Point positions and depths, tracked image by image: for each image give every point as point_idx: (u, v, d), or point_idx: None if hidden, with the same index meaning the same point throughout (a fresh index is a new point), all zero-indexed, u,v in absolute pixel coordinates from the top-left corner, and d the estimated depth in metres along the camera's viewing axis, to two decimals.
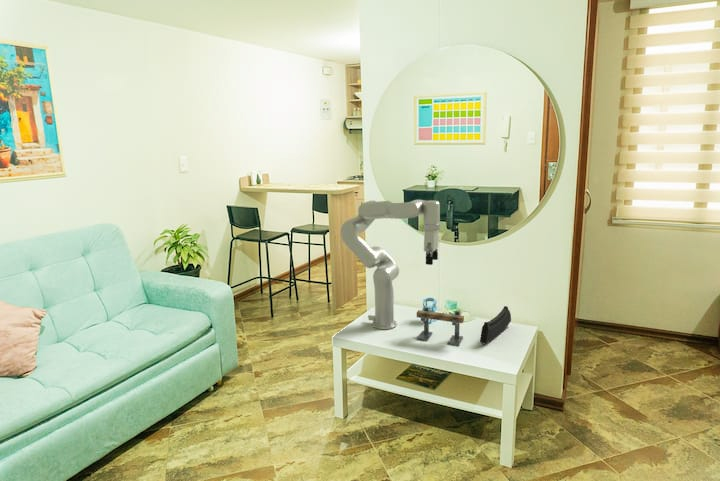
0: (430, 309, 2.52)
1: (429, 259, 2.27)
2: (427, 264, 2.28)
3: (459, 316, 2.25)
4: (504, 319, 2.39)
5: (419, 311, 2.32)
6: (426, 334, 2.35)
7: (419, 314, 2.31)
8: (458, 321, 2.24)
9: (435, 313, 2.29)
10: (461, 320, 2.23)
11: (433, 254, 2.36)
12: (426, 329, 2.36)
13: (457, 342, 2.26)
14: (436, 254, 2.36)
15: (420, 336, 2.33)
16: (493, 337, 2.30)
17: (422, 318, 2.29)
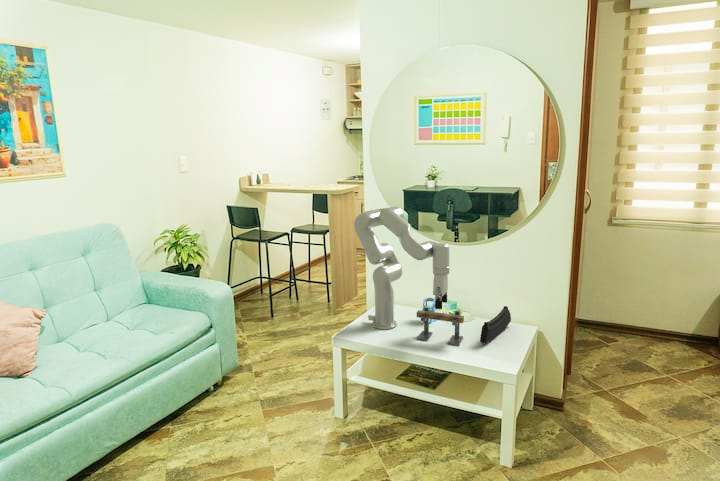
0: (430, 309, 2.52)
1: (438, 304, 2.21)
2: (436, 308, 2.23)
3: (459, 316, 2.25)
4: (504, 319, 2.39)
5: (419, 311, 2.32)
6: (426, 334, 2.35)
7: (419, 314, 2.31)
8: (458, 321, 2.24)
9: (435, 313, 2.29)
10: (461, 320, 2.23)
11: (442, 297, 2.31)
12: (426, 329, 2.36)
13: (457, 342, 2.26)
14: (445, 297, 2.30)
15: (420, 336, 2.33)
16: (493, 337, 2.30)
17: (422, 318, 2.29)
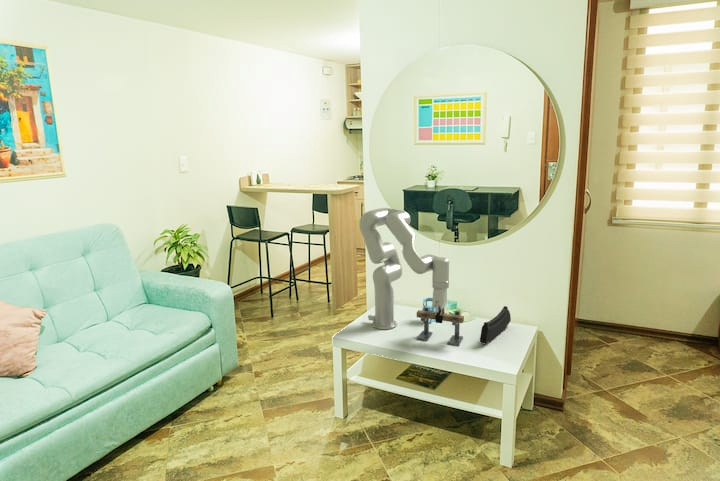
0: (430, 309, 2.52)
1: (439, 318, 2.26)
2: (437, 322, 2.28)
3: (459, 316, 2.25)
4: (504, 319, 2.39)
5: (419, 311, 2.32)
6: (426, 334, 2.35)
7: (419, 314, 2.31)
8: (458, 321, 2.24)
9: (435, 313, 2.29)
10: (461, 320, 2.23)
11: None
12: (426, 329, 2.36)
13: (457, 342, 2.26)
14: None
15: (420, 336, 2.33)
16: (493, 337, 2.29)
17: (422, 318, 2.29)
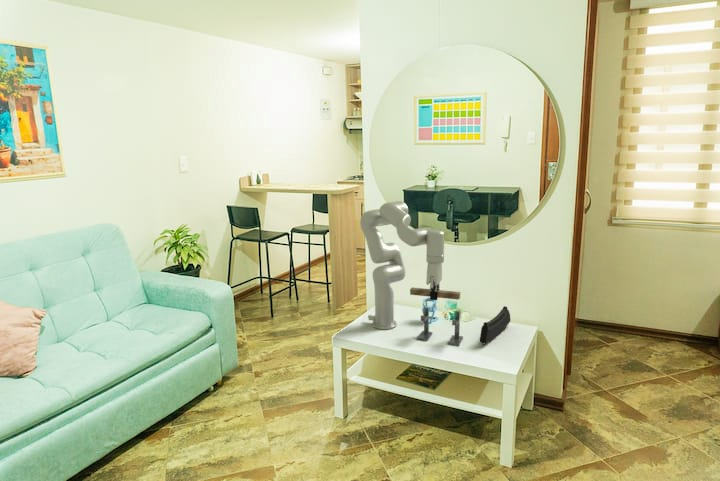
0: (430, 309, 2.52)
1: (434, 294, 2.14)
2: (431, 299, 2.15)
3: (455, 292, 2.12)
4: (503, 319, 2.38)
5: (413, 288, 2.20)
6: (426, 334, 2.35)
7: (413, 291, 2.18)
8: (454, 297, 2.12)
9: None
10: (457, 296, 2.11)
11: None
12: (426, 329, 2.36)
13: (457, 342, 2.26)
14: None
15: (420, 336, 2.33)
16: (493, 337, 2.29)
17: (422, 318, 2.29)
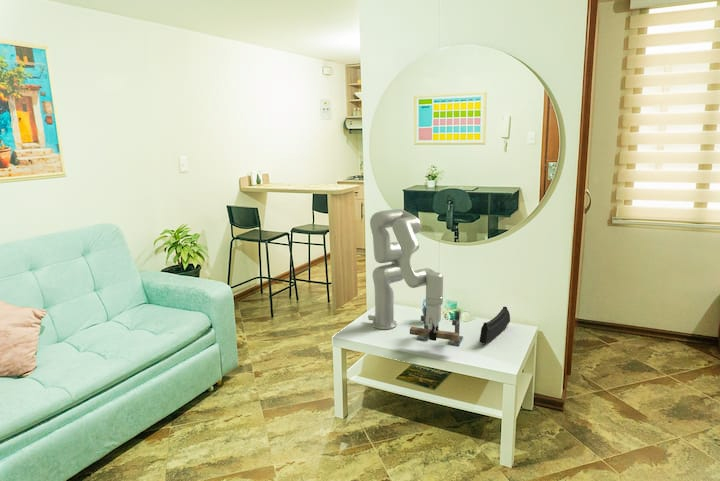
0: None
1: (433, 335, 2.17)
2: None
3: (454, 333, 2.16)
4: (503, 319, 2.38)
5: (412, 328, 2.23)
6: None
7: (412, 331, 2.22)
8: (453, 339, 2.15)
9: None
10: (456, 338, 2.14)
11: None
12: None
13: (457, 342, 2.26)
14: None
15: (420, 336, 2.33)
16: (492, 337, 2.29)
17: (422, 318, 2.29)
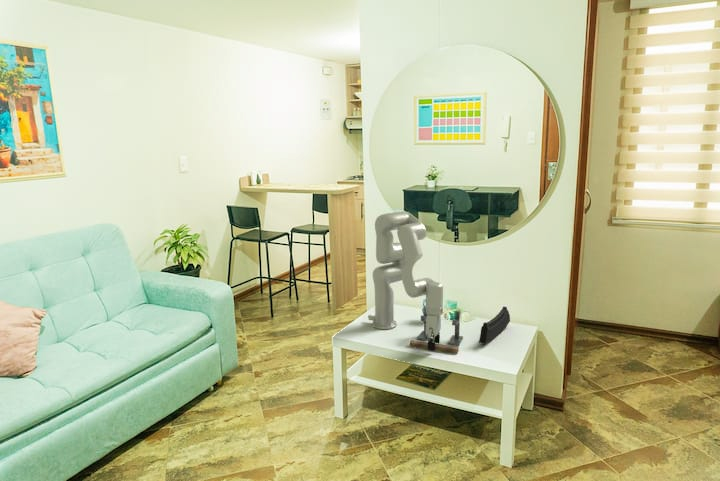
0: None
1: (431, 345, 2.16)
2: None
3: (453, 347, 2.18)
4: (503, 319, 2.38)
5: (412, 341, 2.25)
6: None
7: (412, 344, 2.24)
8: (452, 352, 2.17)
9: None
10: (455, 351, 2.16)
11: (435, 337, 2.24)
12: None
13: (457, 342, 2.26)
14: (438, 337, 2.24)
15: (420, 336, 2.33)
16: (492, 338, 2.29)
17: (422, 318, 2.29)
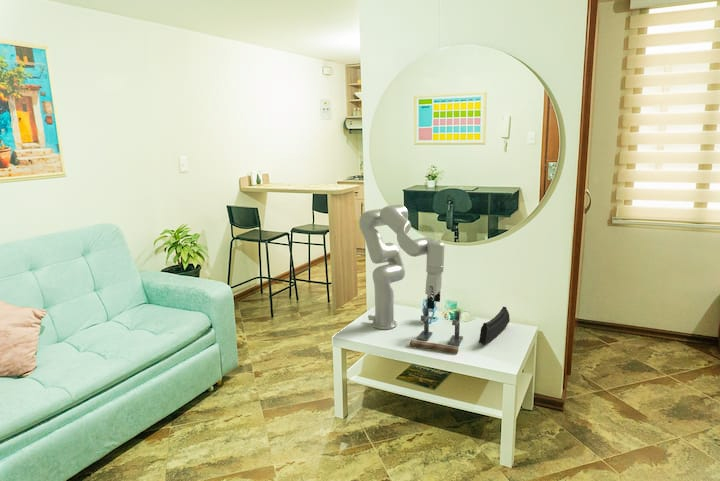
0: (430, 309, 2.52)
1: (430, 303, 2.14)
2: None
3: (453, 347, 2.18)
4: (503, 319, 2.38)
5: (412, 341, 2.25)
6: (426, 334, 2.35)
7: (412, 344, 2.24)
8: (452, 352, 2.17)
9: (429, 343, 2.22)
10: (455, 351, 2.16)
11: (435, 296, 2.24)
12: (426, 329, 2.36)
13: (457, 342, 2.26)
14: (438, 296, 2.23)
15: (420, 336, 2.33)
16: (492, 338, 2.29)
17: (422, 318, 2.29)
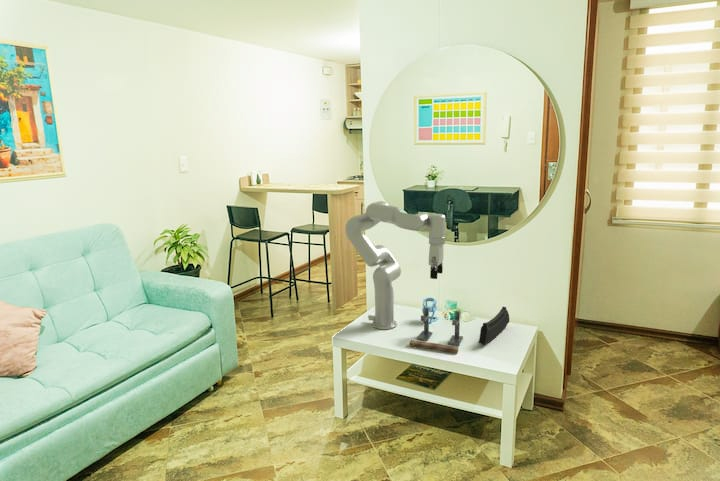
0: (430, 309, 2.52)
1: (434, 273, 2.24)
2: (431, 278, 2.25)
3: (453, 347, 2.18)
4: (502, 320, 2.38)
5: (412, 341, 2.25)
6: (426, 334, 2.35)
7: (412, 344, 2.24)
8: (452, 352, 2.17)
9: (428, 343, 2.22)
10: (455, 351, 2.16)
11: (438, 268, 2.33)
12: (426, 329, 2.36)
13: (457, 342, 2.26)
14: (441, 268, 2.33)
15: (420, 336, 2.33)
16: (492, 338, 2.29)
17: (422, 318, 2.29)
